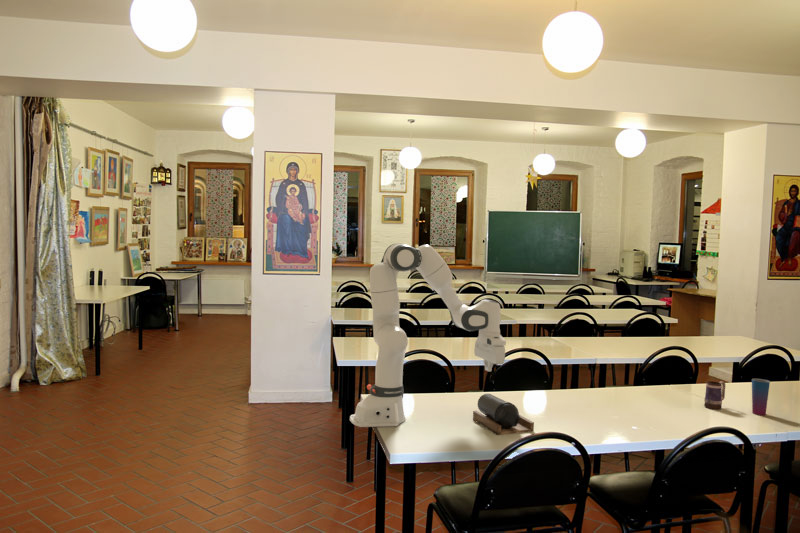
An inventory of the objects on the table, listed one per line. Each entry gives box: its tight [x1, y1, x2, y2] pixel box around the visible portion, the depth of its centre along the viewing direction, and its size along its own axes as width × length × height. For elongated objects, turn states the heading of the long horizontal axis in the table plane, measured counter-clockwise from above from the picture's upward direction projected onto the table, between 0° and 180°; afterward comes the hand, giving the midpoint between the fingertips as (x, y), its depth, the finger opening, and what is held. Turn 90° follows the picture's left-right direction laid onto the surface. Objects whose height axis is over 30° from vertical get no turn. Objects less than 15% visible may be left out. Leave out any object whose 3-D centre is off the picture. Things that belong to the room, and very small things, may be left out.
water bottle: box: [477, 393, 520, 429], centre depth 229 cm, size 10×10×23 cm
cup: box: [751, 378, 771, 416], centre depth 254 cm, size 7×7×15 cm
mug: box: [704, 380, 726, 411], centre depth 263 cm, size 10×7×12 cm
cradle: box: [472, 410, 535, 436], centre depth 228 cm, size 16×20×4 cm
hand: (488, 370), depth 240 cm, fingers closed
